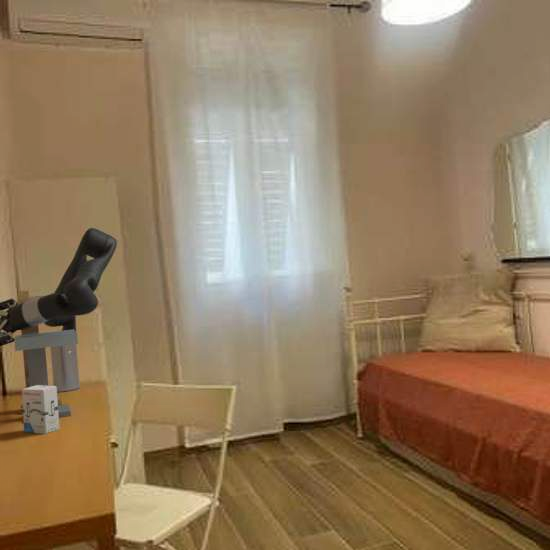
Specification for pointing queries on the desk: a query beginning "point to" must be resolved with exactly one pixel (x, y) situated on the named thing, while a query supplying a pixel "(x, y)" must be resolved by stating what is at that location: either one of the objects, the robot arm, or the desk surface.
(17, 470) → the desk surface
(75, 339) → the frame
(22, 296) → the pin
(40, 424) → the ink box
